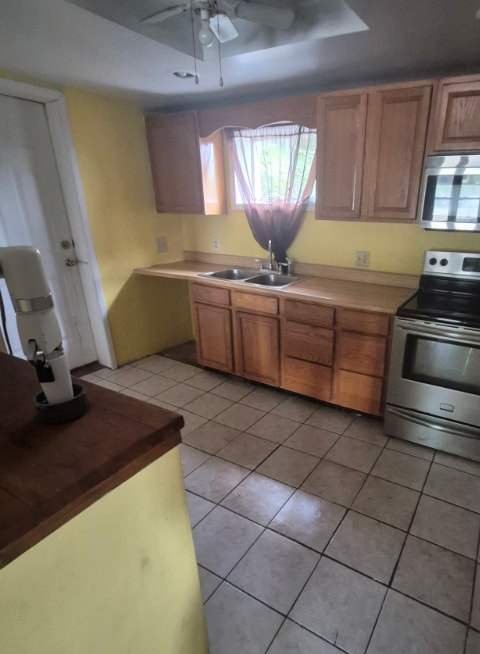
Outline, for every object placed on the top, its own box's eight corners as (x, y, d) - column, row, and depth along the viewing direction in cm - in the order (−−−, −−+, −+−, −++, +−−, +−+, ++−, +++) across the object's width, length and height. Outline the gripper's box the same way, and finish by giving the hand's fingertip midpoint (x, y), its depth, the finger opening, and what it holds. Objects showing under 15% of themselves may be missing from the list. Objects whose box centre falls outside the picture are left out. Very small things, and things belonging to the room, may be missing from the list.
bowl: (30, 427, 88) (23, 407, 86) (49, 402, 98) (44, 384, 96) (81, 422, 90) (76, 402, 88) (95, 399, 100) (91, 381, 98)
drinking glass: (51, 405, 95) (35, 352, 89) (81, 401, 97) (67, 348, 92) (45, 419, 89) (28, 363, 84) (77, 414, 92) (62, 359, 86)
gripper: (32, 294, 90) (51, 361, 97) (-7, 316, 74) (19, 393, 81) (66, 293, 91) (82, 359, 98) (34, 314, 75) (56, 390, 82)
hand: (53, 374), depth 89 cm, fingers closed on drinking glass, 6 cm apart
